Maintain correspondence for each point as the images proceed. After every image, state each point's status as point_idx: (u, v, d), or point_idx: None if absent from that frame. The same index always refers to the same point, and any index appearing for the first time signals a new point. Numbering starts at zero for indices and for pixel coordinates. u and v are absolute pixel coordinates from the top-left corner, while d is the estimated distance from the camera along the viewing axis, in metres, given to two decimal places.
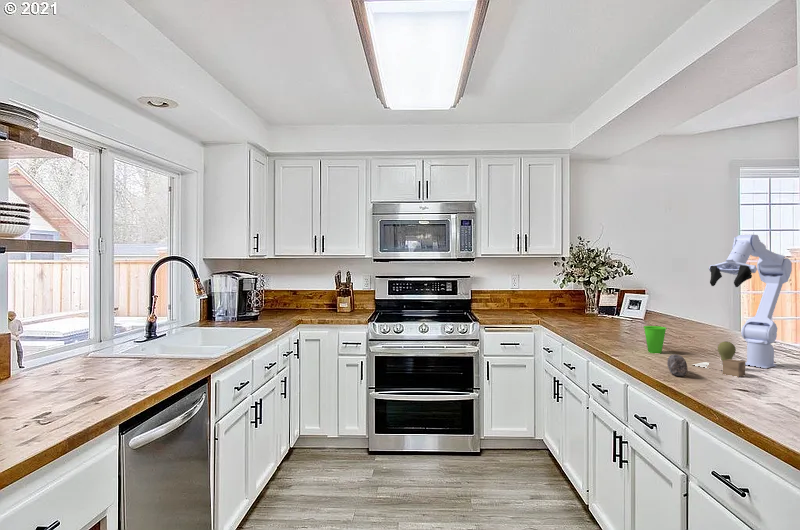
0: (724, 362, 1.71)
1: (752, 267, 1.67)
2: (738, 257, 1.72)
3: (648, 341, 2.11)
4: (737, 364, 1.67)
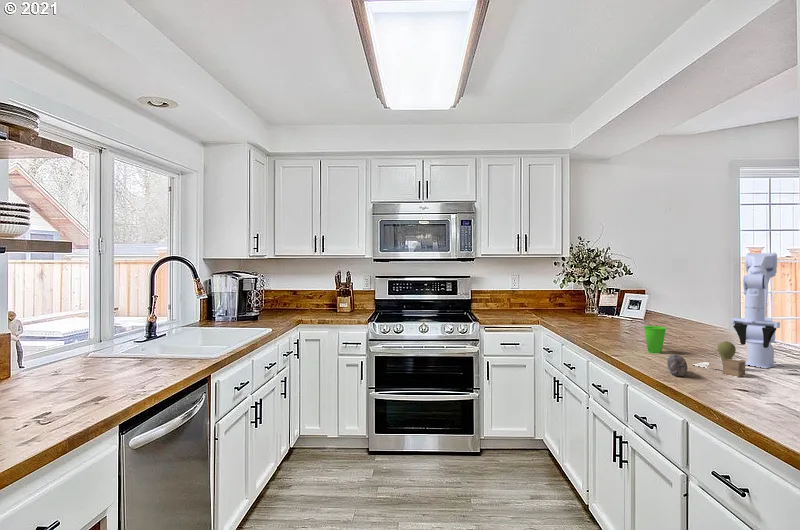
0: (724, 362, 1.71)
1: (775, 326, 1.66)
2: (757, 313, 1.69)
3: (648, 341, 2.11)
4: (737, 364, 1.67)
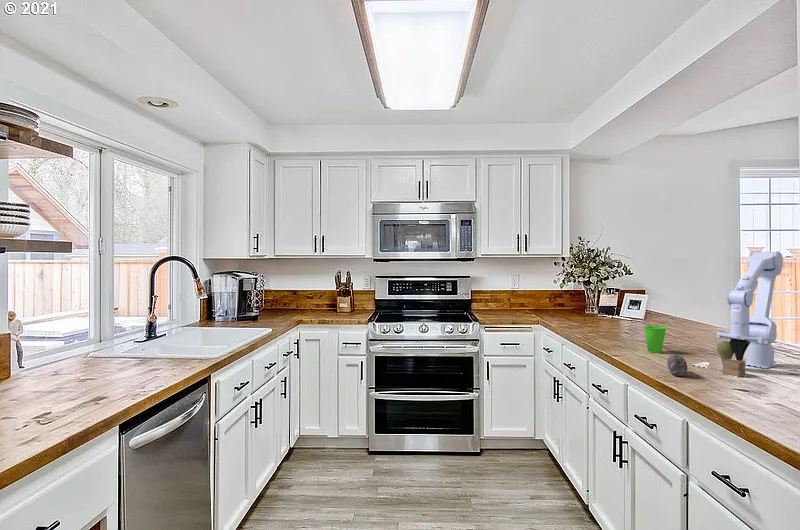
0: (724, 362, 1.71)
1: (759, 341, 1.70)
2: (741, 328, 1.73)
3: (648, 341, 2.11)
4: (737, 364, 1.67)
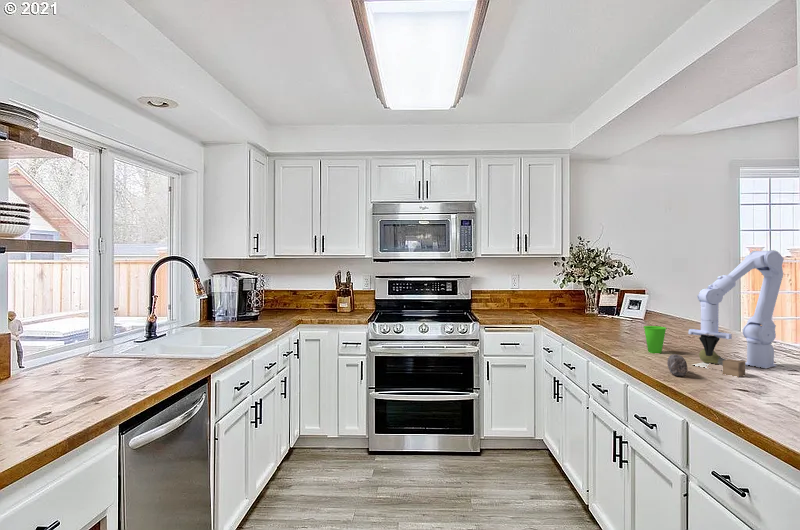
0: (724, 362, 1.71)
1: (727, 337, 1.79)
2: (711, 325, 1.82)
3: (648, 341, 2.11)
4: (737, 364, 1.67)
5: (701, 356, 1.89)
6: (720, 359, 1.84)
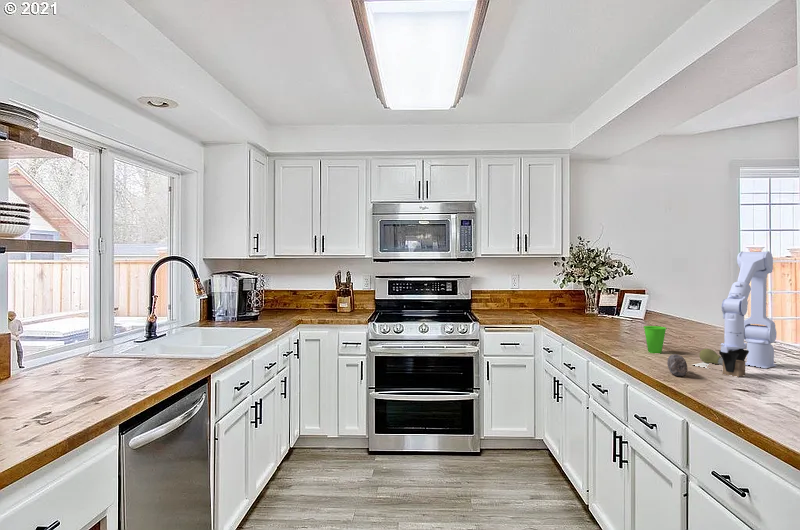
0: None
1: None
2: (724, 336, 1.72)
3: (648, 341, 2.11)
4: (737, 364, 1.67)
5: (701, 355, 1.89)
6: (720, 359, 1.84)
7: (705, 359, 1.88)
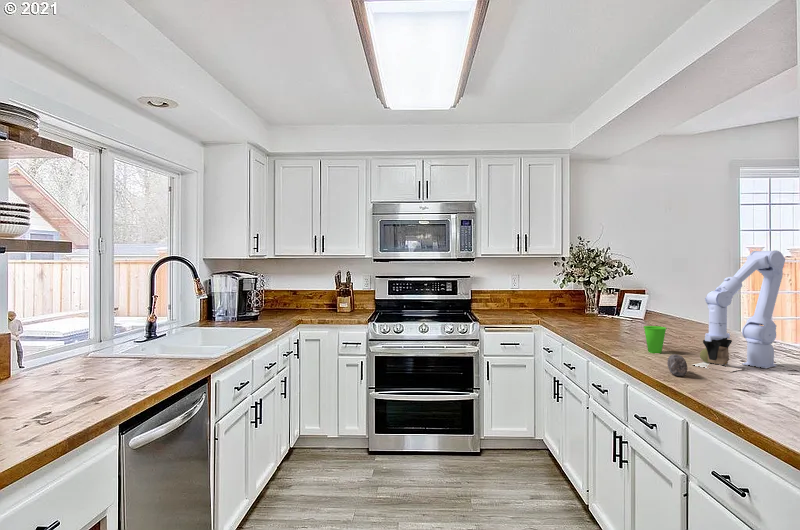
0: None
1: None
2: None
3: (648, 341, 2.11)
4: (720, 353, 1.79)
5: (702, 355, 1.89)
6: None
7: (705, 358, 1.88)
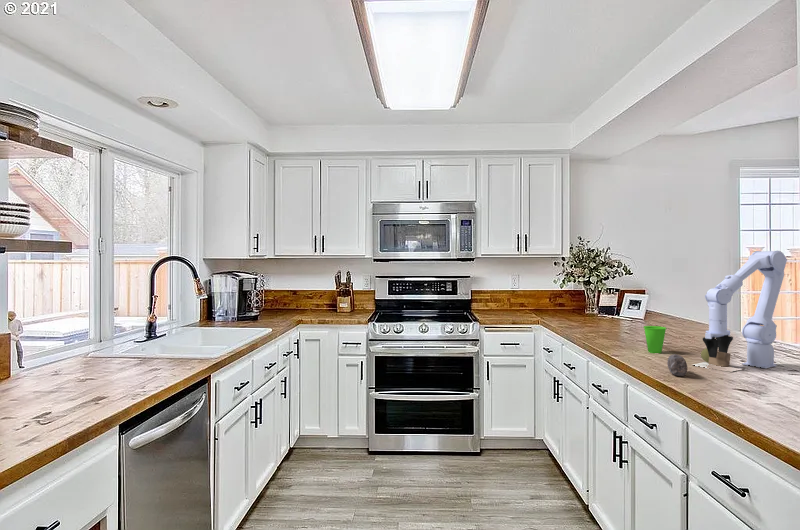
0: None
1: None
2: (709, 324, 1.83)
3: (648, 341, 2.11)
4: (723, 354, 1.80)
5: (704, 352, 1.89)
6: None
7: (707, 356, 1.88)
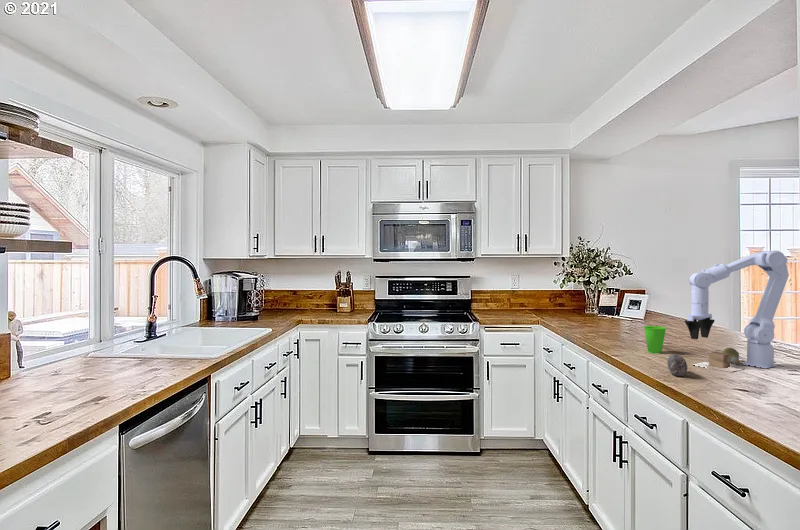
0: (710, 354, 1.83)
1: None
2: (691, 307, 1.90)
3: (648, 341, 2.11)
4: (722, 356, 1.80)
5: None
6: None
7: None
